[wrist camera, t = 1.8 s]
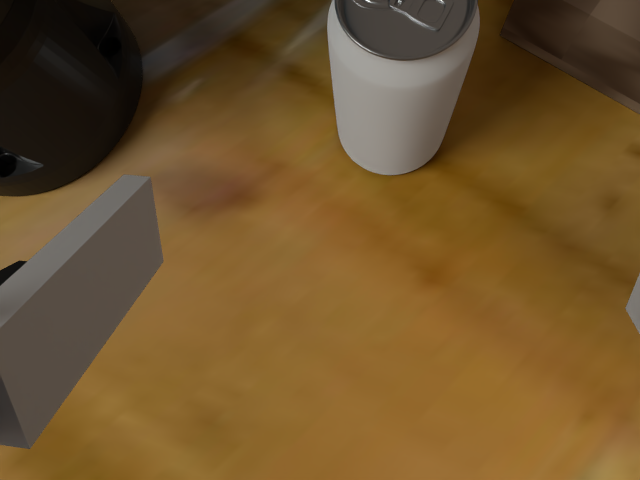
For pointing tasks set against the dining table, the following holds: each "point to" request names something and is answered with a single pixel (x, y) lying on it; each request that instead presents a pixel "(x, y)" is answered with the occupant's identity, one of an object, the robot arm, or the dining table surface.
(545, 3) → the socket block
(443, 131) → the can
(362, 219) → the dining table surface
